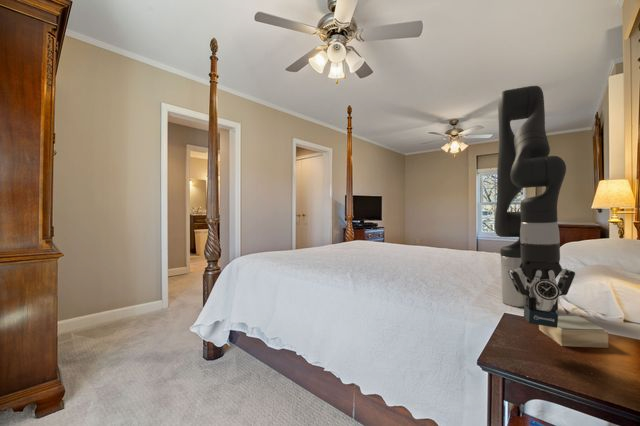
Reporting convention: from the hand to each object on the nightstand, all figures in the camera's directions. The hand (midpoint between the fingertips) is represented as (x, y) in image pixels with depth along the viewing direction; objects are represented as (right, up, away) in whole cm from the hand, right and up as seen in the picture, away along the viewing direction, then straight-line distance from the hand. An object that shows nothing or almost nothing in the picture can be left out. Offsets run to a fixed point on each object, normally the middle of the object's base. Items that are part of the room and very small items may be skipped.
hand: (541, 311), depth 70 cm
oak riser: (+13, -9, +6) cm, 17 cm away
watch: (0, -3, 0) cm, 3 cm away
